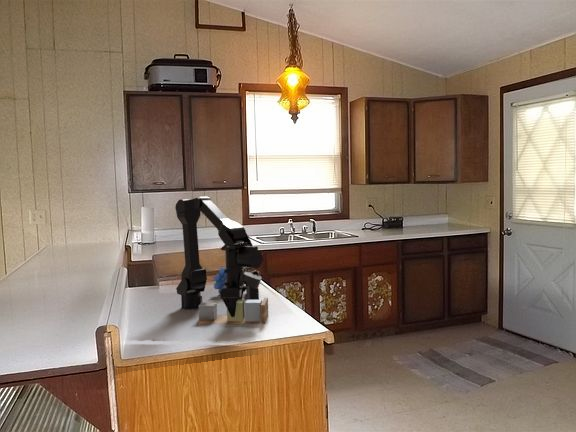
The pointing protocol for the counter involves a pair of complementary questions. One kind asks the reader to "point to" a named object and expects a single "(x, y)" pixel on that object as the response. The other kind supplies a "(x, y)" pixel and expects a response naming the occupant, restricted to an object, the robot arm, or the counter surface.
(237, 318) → the pale yellow block
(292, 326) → the counter surface
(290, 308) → the counter surface
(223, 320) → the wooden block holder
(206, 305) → the grey cube-like block
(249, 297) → the magazine
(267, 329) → the counter surface
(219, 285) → the grapes
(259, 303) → the pale blue block
